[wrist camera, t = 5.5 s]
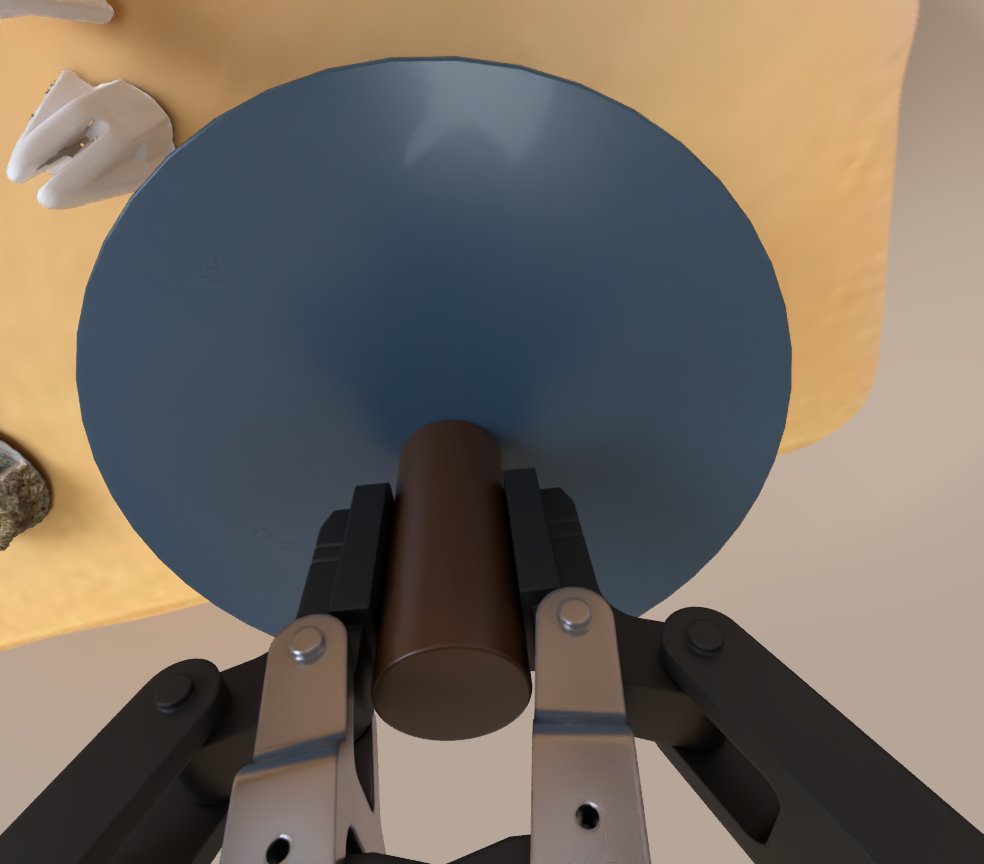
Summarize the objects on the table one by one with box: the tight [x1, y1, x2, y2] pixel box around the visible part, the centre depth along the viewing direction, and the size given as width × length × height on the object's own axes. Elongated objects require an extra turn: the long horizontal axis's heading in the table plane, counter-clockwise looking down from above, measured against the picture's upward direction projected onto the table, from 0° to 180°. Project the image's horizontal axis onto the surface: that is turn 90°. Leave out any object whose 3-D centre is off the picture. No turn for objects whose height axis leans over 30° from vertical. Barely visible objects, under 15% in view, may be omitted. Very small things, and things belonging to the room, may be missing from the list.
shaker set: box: [0, 0, 176, 209], centre depth 22 cm, size 12×4×11 cm, turn 11°
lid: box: [76, 56, 792, 741], centre depth 12 cm, size 17×17×8 cm
